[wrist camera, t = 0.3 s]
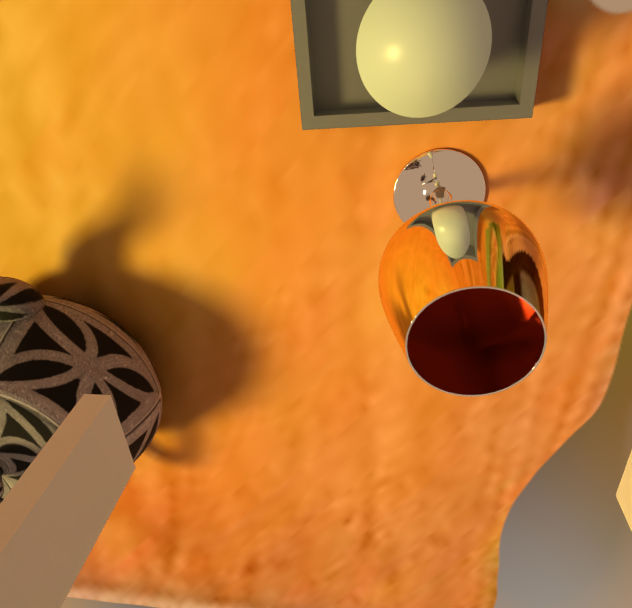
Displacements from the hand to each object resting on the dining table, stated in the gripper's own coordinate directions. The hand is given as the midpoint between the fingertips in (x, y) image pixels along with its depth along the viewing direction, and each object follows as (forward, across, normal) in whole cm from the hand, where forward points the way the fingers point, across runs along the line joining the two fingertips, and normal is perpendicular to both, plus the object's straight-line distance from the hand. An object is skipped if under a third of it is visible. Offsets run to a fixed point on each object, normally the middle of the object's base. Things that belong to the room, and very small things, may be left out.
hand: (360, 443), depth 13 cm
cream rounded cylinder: (+26, +2, +8) cm, 27 cm away
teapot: (+27, -28, -18) cm, 43 cm away
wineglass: (+27, +4, -3) cm, 27 cm away
